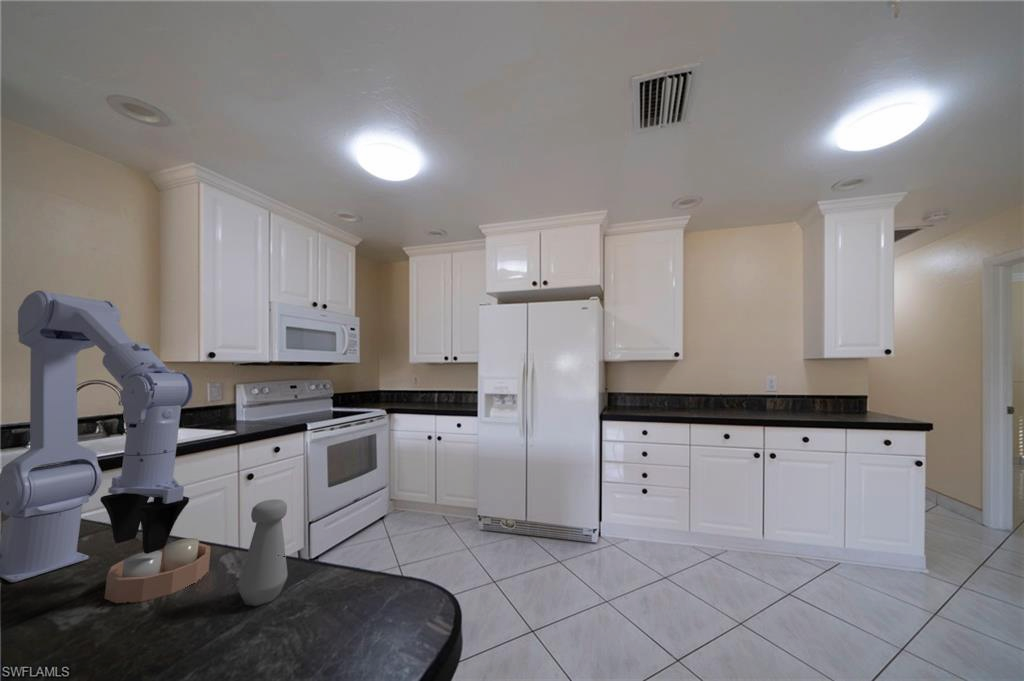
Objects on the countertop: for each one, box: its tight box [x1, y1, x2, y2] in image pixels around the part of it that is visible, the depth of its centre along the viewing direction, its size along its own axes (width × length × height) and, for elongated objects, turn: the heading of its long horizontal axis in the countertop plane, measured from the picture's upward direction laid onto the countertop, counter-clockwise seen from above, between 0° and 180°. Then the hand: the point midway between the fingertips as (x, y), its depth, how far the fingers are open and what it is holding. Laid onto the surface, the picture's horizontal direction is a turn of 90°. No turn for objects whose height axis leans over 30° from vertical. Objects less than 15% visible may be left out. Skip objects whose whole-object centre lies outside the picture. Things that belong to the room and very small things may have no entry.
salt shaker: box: [238, 498, 288, 607], centre depth 53 cm, size 6×6×13 cm
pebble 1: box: [122, 551, 162, 578], centre depth 54 cm, size 4×4×4 cm
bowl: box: [104, 542, 211, 604], centre depth 56 cm, size 11×11×3 cm
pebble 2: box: [163, 537, 200, 572], centre depth 58 cm, size 4×4×4 cm
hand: (139, 545), depth 55 cm, fingers open, 7 cm apart
